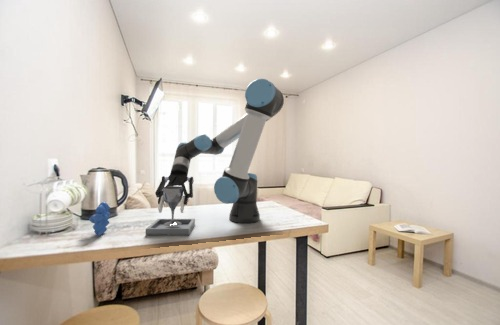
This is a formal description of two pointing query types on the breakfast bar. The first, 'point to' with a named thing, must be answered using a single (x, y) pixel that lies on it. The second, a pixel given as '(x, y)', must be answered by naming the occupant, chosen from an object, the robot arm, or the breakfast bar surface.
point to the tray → (170, 228)
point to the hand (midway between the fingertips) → (170, 210)
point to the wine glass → (172, 201)
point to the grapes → (100, 218)
